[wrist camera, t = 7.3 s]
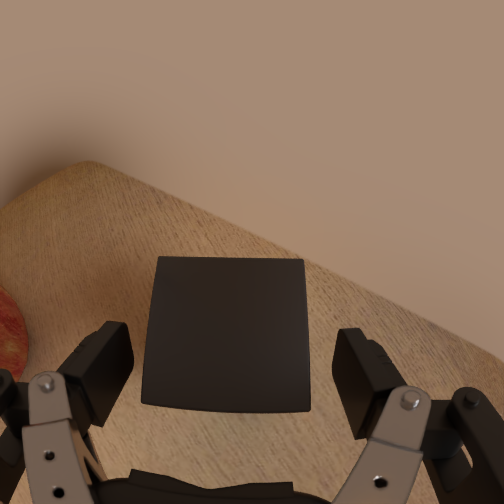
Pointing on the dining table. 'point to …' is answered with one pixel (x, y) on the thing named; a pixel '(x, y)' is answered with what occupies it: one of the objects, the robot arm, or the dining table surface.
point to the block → (228, 336)
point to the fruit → (12, 336)
